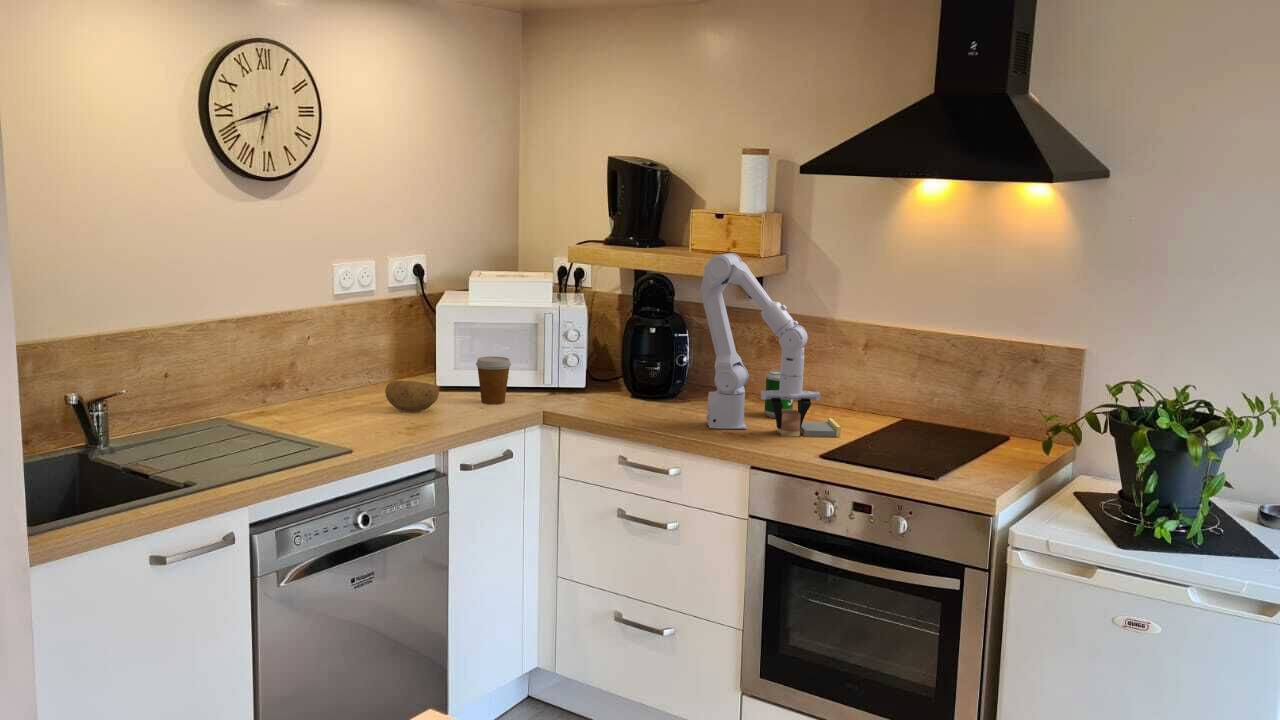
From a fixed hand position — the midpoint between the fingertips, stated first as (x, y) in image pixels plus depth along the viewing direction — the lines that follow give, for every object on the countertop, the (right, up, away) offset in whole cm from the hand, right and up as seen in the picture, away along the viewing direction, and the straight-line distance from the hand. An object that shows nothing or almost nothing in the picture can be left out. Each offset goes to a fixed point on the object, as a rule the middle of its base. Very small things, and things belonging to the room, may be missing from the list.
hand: (788, 427), depth 282 cm
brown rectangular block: (0, -1, 0) cm, 1 cm away
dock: (+7, -1, +3) cm, 8 cm away
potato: (-97, +3, +11) cm, 98 cm away
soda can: (0, +2, +20) cm, 20 cm away
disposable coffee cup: (-78, +5, +25) cm, 82 cm away
